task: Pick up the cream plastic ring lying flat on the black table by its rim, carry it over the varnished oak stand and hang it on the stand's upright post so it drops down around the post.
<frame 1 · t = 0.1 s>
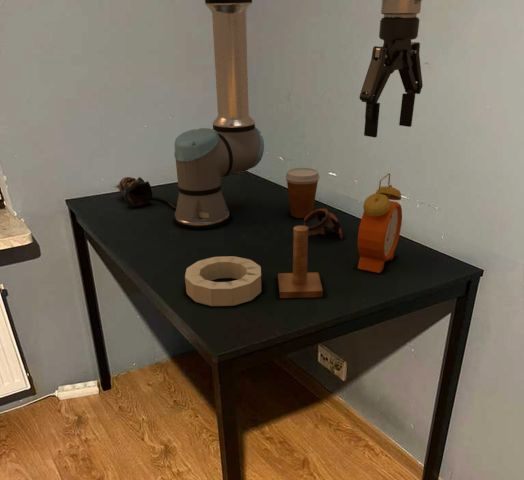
hand: (388, 131, 119), 28 cm above the table, tool pointing down, fingers open, 13 cm apart
stand: (299, 288, 118), on the table
ring: (224, 288, 119), on the table
pottery mug: (323, 236, 143), on the table
alarm clock: (376, 263, 129), on the table
figurine: (135, 202, 169), on the table
disposable coffee cup: (301, 214, 157), on the table
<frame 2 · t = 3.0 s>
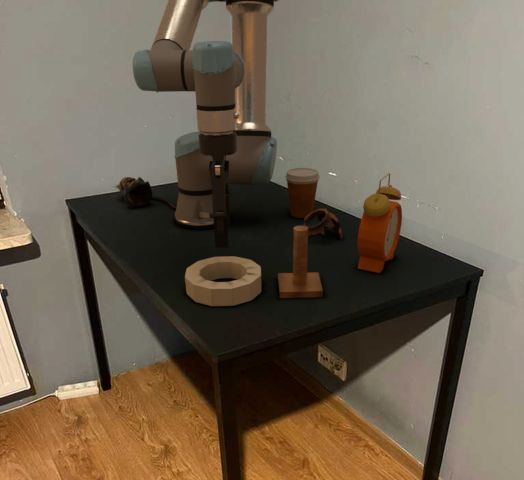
hand: (223, 235, 119), 10 cm above the table, tool pointing down, fingers open, 13 cm apart
nothing on the table moved.
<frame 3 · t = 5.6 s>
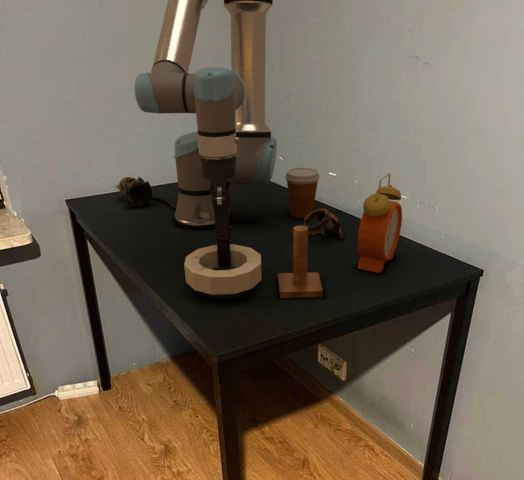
hand: (225, 262, 123), 3 cm above the table, tool pointing down, fingers closed on ring, 3 cm apart
ring: (224, 276, 118), point 3 cm above the table, touching gripper
everything else where it was.
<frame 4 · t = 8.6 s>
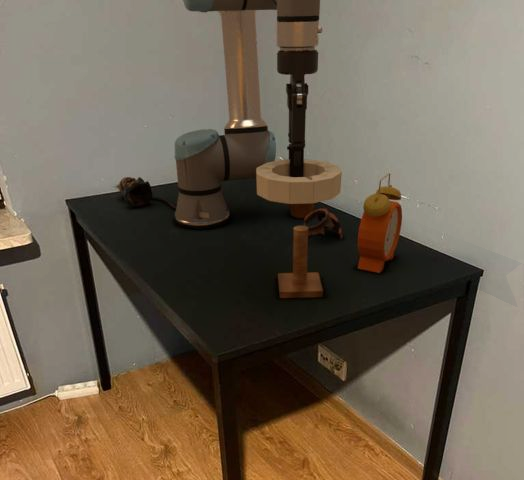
hand: (295, 179, 112), 21 cm above the table, tool pointing down, fingers closed on ring, 3 cm apart
ring: (297, 190, 107), point 21 cm above the table, touching gripper
everything else where it was.
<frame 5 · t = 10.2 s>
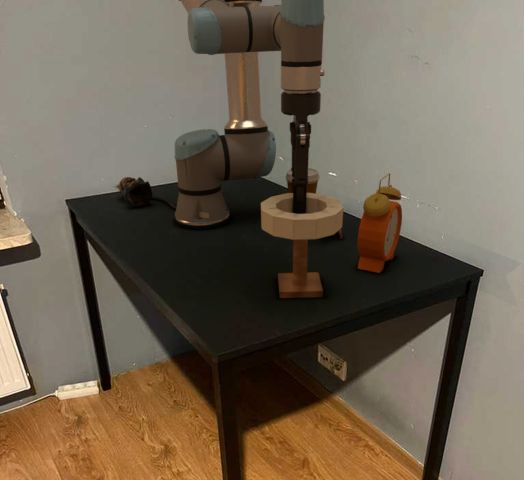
hand: (298, 212, 116), 15 cm above the table, tool pointing down, fingers closed on ring, 3 cm apart
ring: (301, 224, 110), point 14 cm above the table, touching gripper
everything else where it was.
when the fingers open (11 cm above the table, at t = 11.4 s): ring drops 9 cm, resting on stand.
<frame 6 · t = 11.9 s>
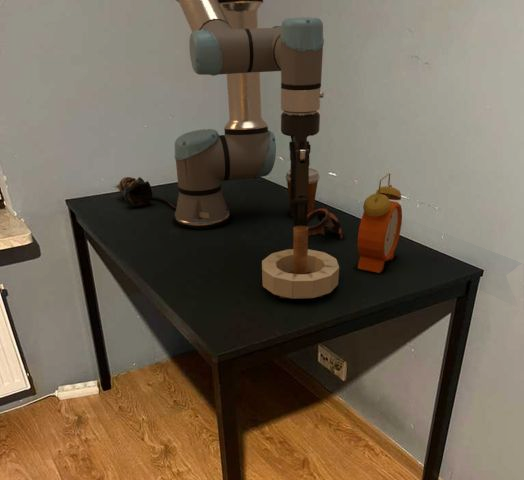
hand: (298, 223, 118), 12 cm above the table, tool pointing down, fingers open, 10 cm apart
ring: (299, 281, 118), point 1 cm above the table, touching stand
everything else where it was.
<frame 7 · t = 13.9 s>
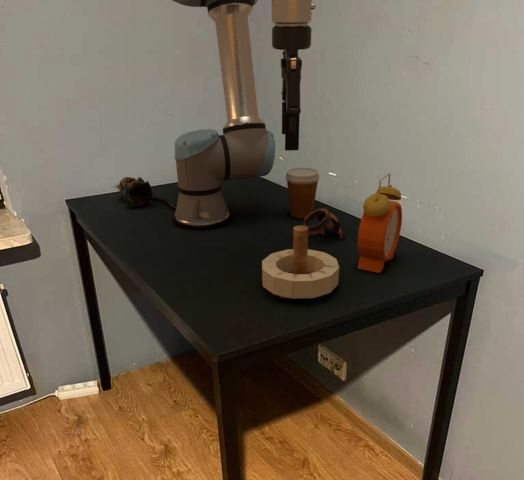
hand: (289, 141, 116), 27 cm above the table, tool pointing down, fingers open, 13 cm apart
nothing on the table moved.
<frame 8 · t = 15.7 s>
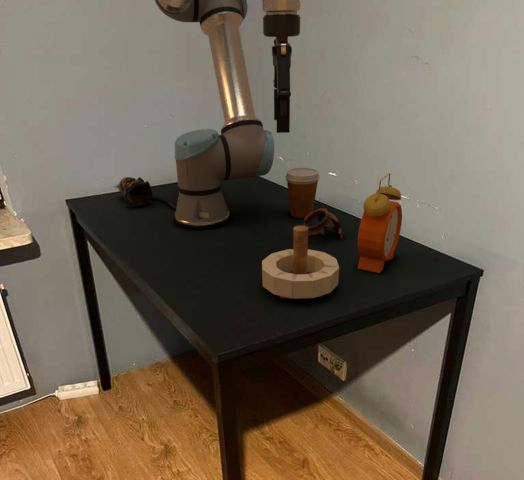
hand: (281, 126, 121), 29 cm above the table, tool pointing down, fingers open, 13 cm apart
nothing on the table moved.
at the end: ring 0.3 cm from the stand (horizontally); ring point 1.5 cm above the table; the gripper is holding nothing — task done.
